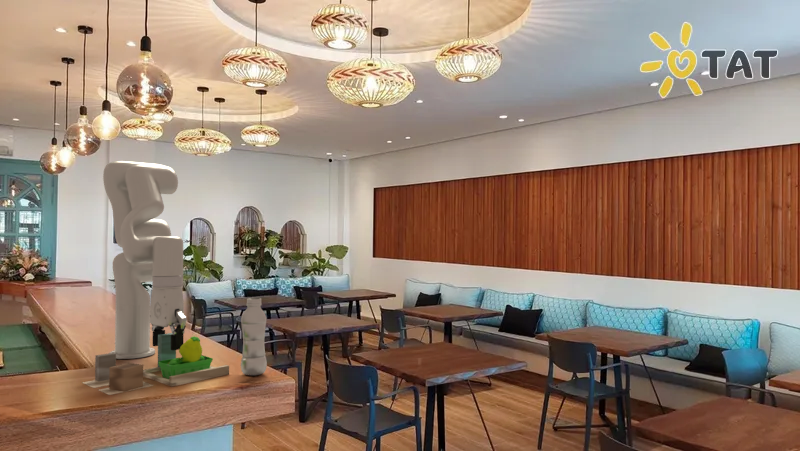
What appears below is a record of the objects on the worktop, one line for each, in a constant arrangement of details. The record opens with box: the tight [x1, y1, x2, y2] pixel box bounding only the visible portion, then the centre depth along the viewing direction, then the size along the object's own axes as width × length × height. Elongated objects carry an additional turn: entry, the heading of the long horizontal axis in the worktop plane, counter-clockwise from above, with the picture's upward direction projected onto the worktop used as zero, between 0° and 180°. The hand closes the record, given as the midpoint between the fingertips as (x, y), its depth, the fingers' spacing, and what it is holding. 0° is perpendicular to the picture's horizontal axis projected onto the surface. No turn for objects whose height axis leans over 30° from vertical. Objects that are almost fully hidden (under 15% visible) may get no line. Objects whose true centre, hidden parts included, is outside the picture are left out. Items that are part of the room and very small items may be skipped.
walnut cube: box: [108, 362, 144, 393], centre depth 127 cm, size 5×5×5 cm
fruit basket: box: [157, 336, 213, 379], centre depth 139 cm, size 11×9×11 cm
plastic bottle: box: [240, 297, 268, 377], centre depth 144 cm, size 6×7×20 cm
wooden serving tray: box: [143, 332, 230, 387], centre depth 140 cm, size 18×15×10 cm
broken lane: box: [82, 352, 154, 396], centre depth 130 cm, size 16×10×7 cm, turn 50°
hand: (167, 347), depth 145 cm, fingers open, 9 cm apart
